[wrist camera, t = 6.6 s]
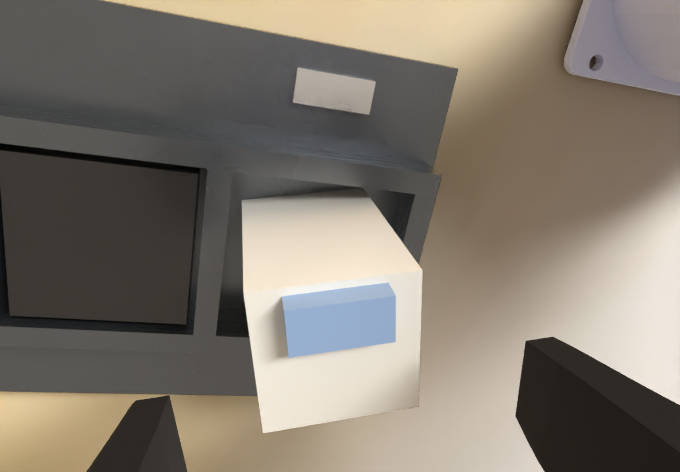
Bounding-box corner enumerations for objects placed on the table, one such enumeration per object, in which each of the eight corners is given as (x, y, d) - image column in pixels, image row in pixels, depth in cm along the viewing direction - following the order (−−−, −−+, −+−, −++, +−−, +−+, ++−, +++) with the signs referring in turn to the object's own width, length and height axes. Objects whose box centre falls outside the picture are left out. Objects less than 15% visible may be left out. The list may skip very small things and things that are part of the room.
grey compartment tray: (446, 65, 17) (480, 74, 14) (367, 381, 21) (383, 426, 19) (-330, -83, 12) (-470, -108, 9) (-208, 366, 17) (-281, 424, 14)
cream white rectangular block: (363, 188, 17) (432, 283, 11) (365, 291, 18) (426, 423, 12) (241, 199, 16) (243, 307, 10) (255, 306, 18) (264, 452, 12)
